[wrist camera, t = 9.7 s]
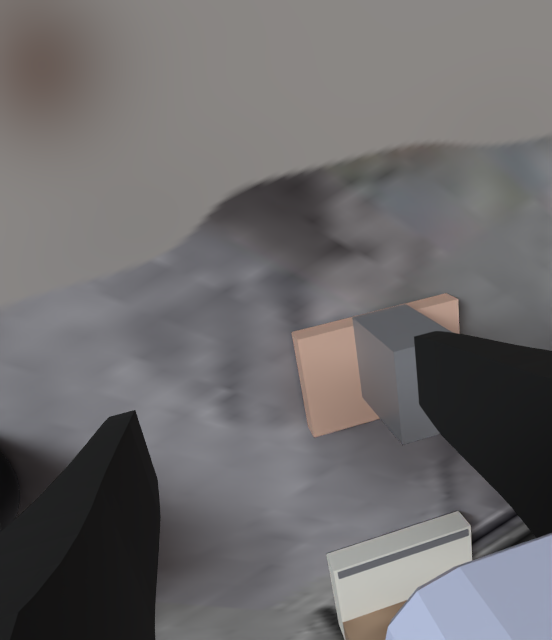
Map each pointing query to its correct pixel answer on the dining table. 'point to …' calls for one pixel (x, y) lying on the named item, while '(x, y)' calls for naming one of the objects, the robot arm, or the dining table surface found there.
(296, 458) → the dining table surface
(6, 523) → the supplement bottle
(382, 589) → the board
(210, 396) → the dining table surface
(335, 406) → the grey and peach block
